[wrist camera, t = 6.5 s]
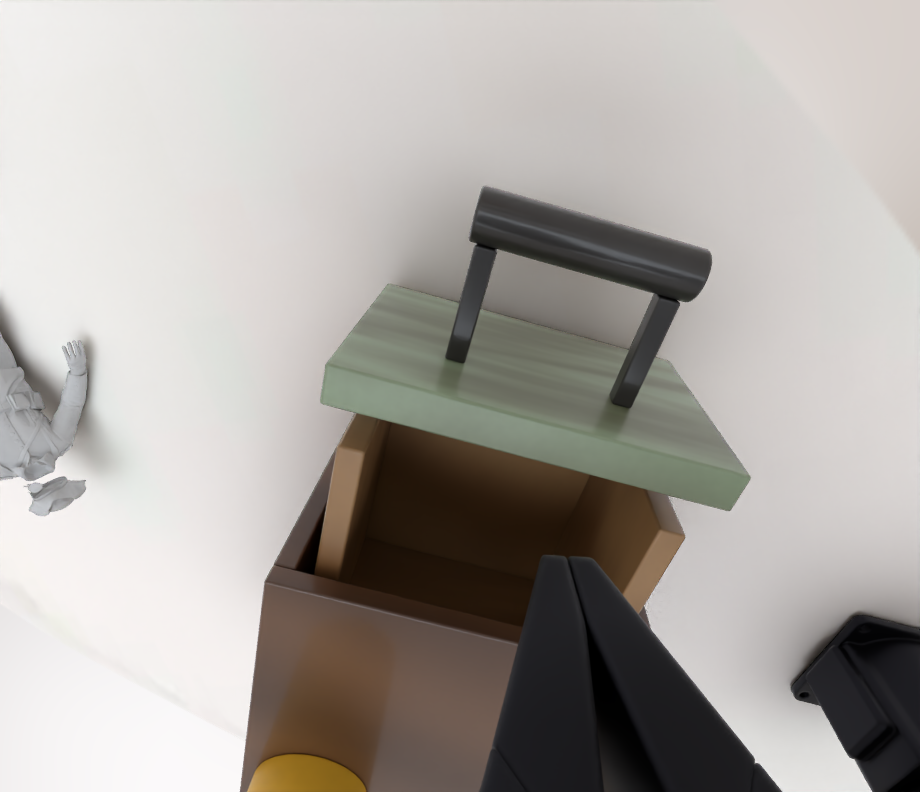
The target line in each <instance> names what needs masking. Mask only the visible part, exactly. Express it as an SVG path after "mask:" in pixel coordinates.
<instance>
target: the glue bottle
mask: <svg viewBox="0 0 920 792" xmlns="http://www.w3.org/2000/svg"><path fill="white" fill-rule="evenodd" d="M247 792H366V788H365V786H364V784H363V783H362V781H361V780H360V779H359V778H358V777H357V776H356V775H355V774H354V773H353V772H352V771H350V770H349V769H347V768H346V767H344V766H342V765H340V764H338V763H336V762H333V761H331V760H328V759H325V758H321V757H317V756H312V755H305V754H285V755H279V756H275V757H272V758H269V759H268V760H266V761H264V762H263V763H261V764H260V765H259V767H258V768H257V769H256V771H255V773H254V775H253V778H252V780H251V783H250V786H249V788H248V791H247Z"/></svg>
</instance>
